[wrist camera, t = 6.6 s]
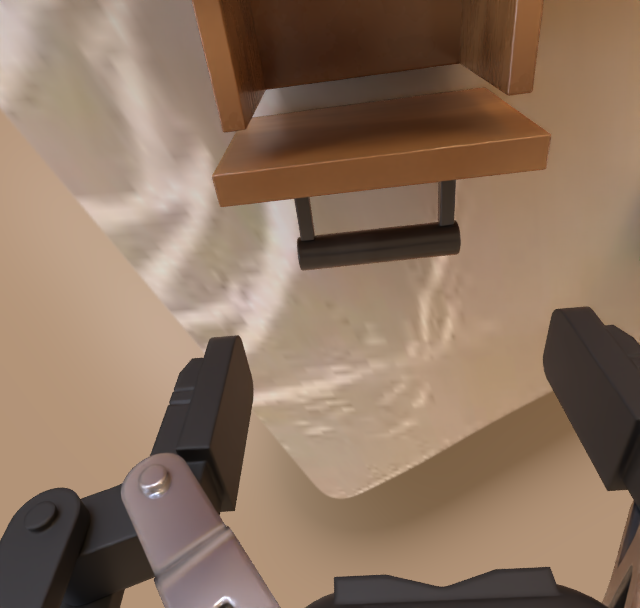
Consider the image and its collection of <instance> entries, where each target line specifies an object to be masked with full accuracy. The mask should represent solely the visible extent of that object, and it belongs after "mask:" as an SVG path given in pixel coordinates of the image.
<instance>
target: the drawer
mask: <svg viewBox="0 0 640 608" xmlns="http://www.w3.org/2000/svg"><path fill="white" fill-rule="evenodd" d="M543 1H544V0H192V4H193V8H194V12H195V16H196V21H197V25H198V29H199V33H200V37H201V42H202V46H203V50H204V54H205V59H206V63H207V67H208V71H209V75H210V80H211V84H212V88H213V92H214V96H215V101H216V105H217V109H218V113H219V118H220V122H221V126H222V130H223V132H232V131H237V132H236V134H235V135H234V137H233V139H232V141H231V143H230V144H229V146H228V148H227V150H226V152H225V153H224V155H223V157H222V159H221V161H220V162H219V164H218V166H217V168H216V170H215V171H214V173H213V175H212V179H213V183H214V186H215V190H216V194H217V198H218V202H219V205H220V207H227V206H235V205H244V204H252V203H261V202H270V201H278V200H287V199H294V200H295V206H296V212H297V218H298V224H299V230H300V236H301V237H299V238H298V239H297V250H298V259H299V265H300V268H301V270H312V269H322V268H332V267H341V266H351V265H360V264H370V263H379V262H389V261H398V260H408V259H417V258H427V257H437V256H446V255H456V254H458V253H459V251H460V245H461V238H460V230H459V226H458V223H457V221H456V220H454V211H455V187H456V180H458V179H466V178H475V177H483V176H492V175H501V174H509V173H518V172H526V171H535V170H543V169H546V166H547V160H548V153H549V146H550V140H551V134H550V133H548V132H547V131H546V130H544V129H543V128H541V127H540V126H539V125H537V124H536V123H534V122H533V121H532V120H530V119H529V118H527V117H526V116H525V115H523V114H522V113H520V112H519V111H517V110H516V109H515V108H513V107H512V106H510V105H509V104H508V103H506V102H505V101H503V100H502V99H501V98H499V97H498V96H496V95H495V94H494V93H492V92H491V91H489V90H488V89H487V88H485V87H482V88H475V89H467V90H459V91H452V92H444V93H436V94H429V95H421V96H414V97H406V98H398V99H391V100H383V101H376V102H368V103H360V104H353V105H345V106H338V107H330V108H322V109H315V110H307V111H299V112H292V113H284V114H277V115H269V116H261V117H254V118H252V116H253V114H254V112H255V110H256V108H257V106H258V104H259V102H260V100H261V98H262V96H263V94H264V92H265V90H267V89H275V88H282V87H290V86H297V85H304V84H312V83H319V82H326V81H334V80H341V79H348V78H356V77H363V76H371V75H378V74H385V73H393V72H400V71H407V70H415V69H422V68H429V67H437V66H444V65H452V64H459V63H460V64H462V65H463V66H465V67H466V68H468V69H469V70H471V71H472V72H474V73H475V74H477V75H478V76H480V77H481V78H483V79H484V80H486V81H487V82H489V83H490V84H492V85H493V86H495V87H496V88H498V89H499V90H501V91H502V92H504V93H505V94H507V95H516V94H524V93H530V92H532V90H533V83H534V75H535V67H536V58H537V50H538V42H539V34H540V26H541V18H542V9H543ZM432 182H438V222H433V223H424V224H415V225H406V226H397V227H388V228H379V229H370V230H361V231H352V232H343V233H334V234H325V235H316V236H315V231H314V224H313V217H312V210H311V204H310V197H312V196H321V195H329V194H338V193H347V192H355V191H364V190H372V189H381V188H389V187H398V186H406V185H415V184H424V183H432Z"/></svg>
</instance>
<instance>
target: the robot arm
mask: <svg viewBox="0 0 640 608" xmlns="http://www.w3.org/2000/svg"><path fill="white" fill-rule="evenodd" d="M543 366H544V372H545V375H546V378H547V380H548V382H549V383H550V385H551V387H552V389H553V391H554V393H555V395H556V396H557V398H558V400H559V402H560V404H561V406H562V408H563V409H564V411H565V413H566V415H567V417H568V419H569V421H570V422H571V424H572V426H573V428H574V430H575V432H576V433H577V435H578V437H579V439H580V441H581V443H582V445H583V446H584V448H585V450H586V452H587V454H588V456H589V457H590V459H591V461H592V463H593V465H594V467H595V468H596V470H597V472H598V474H599V476H600V478H601V480H602V482H603V483H604V485H605V487H606V489H607V490H608V491H615V490H628V491H629V493H630V494H631V496H632V498H633V499H634V501H633V503H632V505H631V507H630V510H629V514H628V518H627V522H626V526H625V529H624V532H623V536H622V540H621V544H620V548H619V551H618V555H617V559H616V562H615V566H614V569H613V573H612V576H611V580H610V583H609V585H608V588H607V591H606V593H605V596H604V599H603V602H602V603H601V602H599V601H597V600H595V599H594V598H592V597H590V596H587V595H585V594H583V593H581V592H579V591H577V590H574V589H571V588H568V587H565V586H562V585H557V584H556V582H555V579H554V577H553V574H552V571H551V569H550V567H538V568H518V569H517V568H516V569H496V570H493V571H490V572H487V573H484V574H481V575H478V576H475V577H472V578H470V579H467V580H464V581H461V582H458V583H455V584H452V585H450V586H445V587H439V586H434V585H429V584H425V583H421V582H416V581H412V580H407V579H403V578H398V577H394V576H390V575H369V576H347V577H334V593H333V594H330V595H327V596H324V597H322V598H320V599H319V600H316V601H314V602H313V603H311V604H310V605H308V606H307V607H306V608H640V345H639V344H638V342H637V341H636V340H635V339H634V338H633V337H632V336H630V335H629V334H627V333H625V332H624V331H622V330H621V329H619V328H618V327H616V326H614V325H604V324H603V323H602V321H601V320H600V319H599V317H598V316H597V315H596V314H595V312H594V311H593V310H592V309H591V308H590V307H575V308H563V309H556V310H554V311H553V313H552V316H551V321H550V325H549V330H548V335H547V339H546V344H545V349H544V354H543ZM169 403H170V405H168V407H167V410H166V413H165V416H164V418H163V421H162V424H161V427H160V430H159V432H158V435H157V438H156V441H155V444H154V446H153V449H152V452H151V454H150V457H148V458H146V459H144V460H142V461H141V462H139V463H138V464H137V465H136V466H135V467H133V468H132V470H131V471H130V472H129V473H128V475H127V476H126V478H125V480H124V481H123V483H122V484H120V485H118V486H116V487H113V488H110V489H108V490H104V491H102V492H99V493H96V494H93V495H90V496H87V497H85V498H82V499H80V498H79V497H78V495H77V494H76V493H75V492H74V491H73V490H71V489H68V488H54V489H50V490H47V491H45V492H42V493H40V494H39V495H37V496H35V497H33V498H32V499H30V500H29V501H28V502H26V503H25V504H24V505H23V506H22V507H21V508H20V509H19V510H18V511H17V512H16V514H15V515H14V516H13V518H12V519H11V521H10V523H9V525H8V527H7V529H6V531H5V533H4V535H3V537H2V538H1V540H0V608H120V605H121V601H122V598H123V594H124V590H125V589H126V588H128V587H131V586H133V585H135V584H138V583H141V582H143V581H146V580H148V579H151V578H153V577H155V578H154V582H155V585H156V588H157V590H158V592H159V595H160V597H161V600H162V601H163V604H164V606H165V608H280V606H279V604H278V603H277V601H276V600H275V598H274V597H273V595H272V593H271V592H270V590H269V589H268V587H267V585H266V584H265V582H264V581H263V579H262V577H261V576H260V574H259V573H258V571H257V569H256V568H255V566H254V565H253V563H252V561H251V560H250V558H249V557H248V555H247V553H246V552H245V550H244V549H243V547H242V546H241V544H240V542H239V541H238V539H237V538H236V536H235V535H234V533H233V532H232V530H231V529H230V528H229V527H228V526H227V527H226V525H225V524H224V522H223V521H222V519H221V518H220V512H225V511H235V506H236V500H237V494H238V488H239V481H240V476H241V470H242V464H243V458H244V452H245V446H246V440H247V433H248V427H249V421H250V415H251V409H252V403H253V380H252V376H251V372H250V368H249V365H248V361H247V357H246V354H245V350H244V346H243V343H242V340H241V338H240V336H238V335H237V336H226V337H214V338H210V340H209V342H208V345H207V349H206V352H205V355H204V358H194V359H192V360H191V361H190V362H189V363H188V364H187V365H186V367H185V368H184V369H183V370H182V371H181V372H180V373H179V376H178V379H177V382H176V385H175V387H174V392H173V393H172V396H171V399H170V402H169Z"/></svg>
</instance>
